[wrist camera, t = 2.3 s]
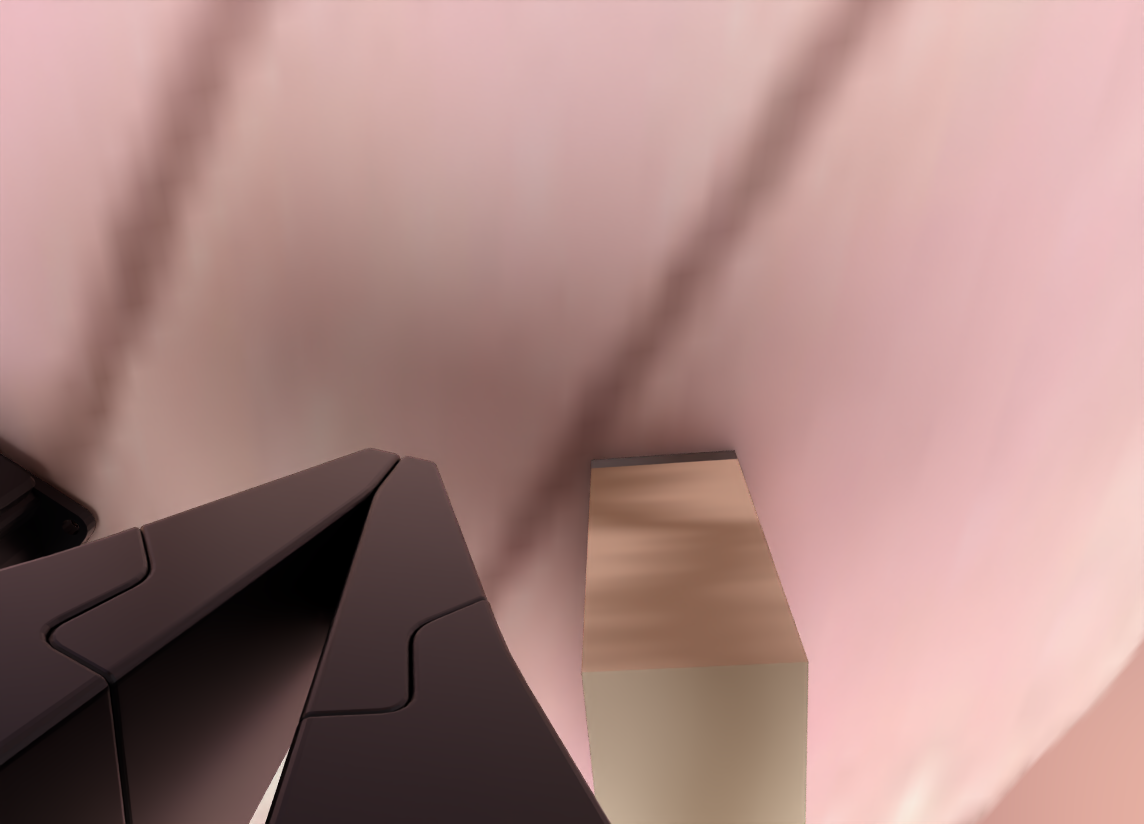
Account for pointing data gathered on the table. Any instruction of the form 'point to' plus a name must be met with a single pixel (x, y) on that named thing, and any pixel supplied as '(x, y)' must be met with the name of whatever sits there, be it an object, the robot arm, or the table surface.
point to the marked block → (689, 649)
